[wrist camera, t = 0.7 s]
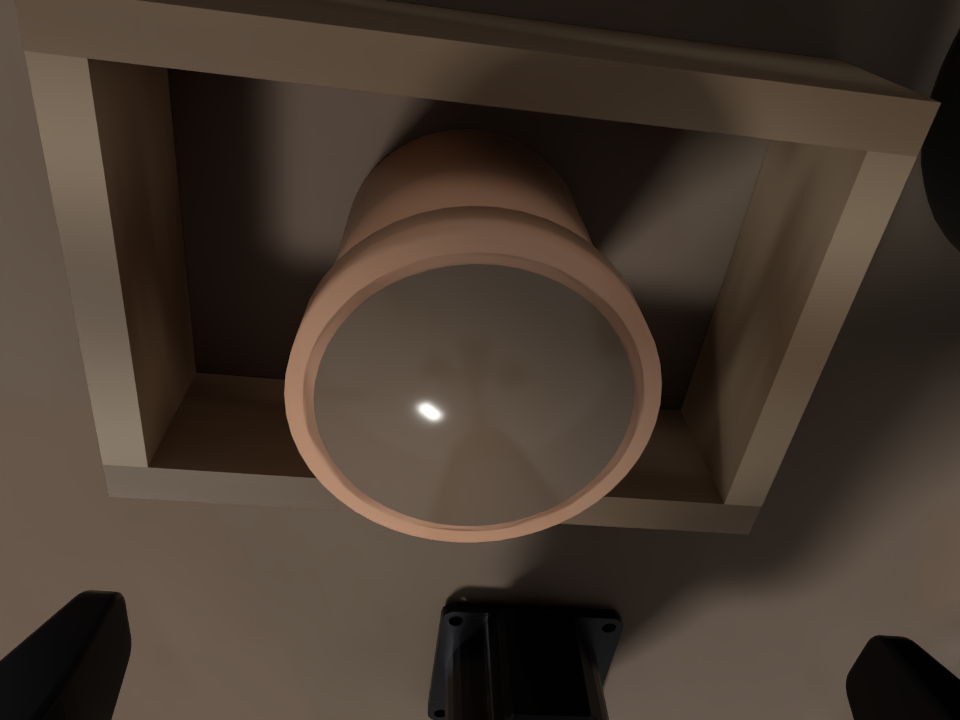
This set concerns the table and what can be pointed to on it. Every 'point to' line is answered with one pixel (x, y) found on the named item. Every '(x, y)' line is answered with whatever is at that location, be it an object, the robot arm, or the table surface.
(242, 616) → the table surface
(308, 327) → the terracotta pot
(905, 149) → the frame
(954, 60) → the mug
